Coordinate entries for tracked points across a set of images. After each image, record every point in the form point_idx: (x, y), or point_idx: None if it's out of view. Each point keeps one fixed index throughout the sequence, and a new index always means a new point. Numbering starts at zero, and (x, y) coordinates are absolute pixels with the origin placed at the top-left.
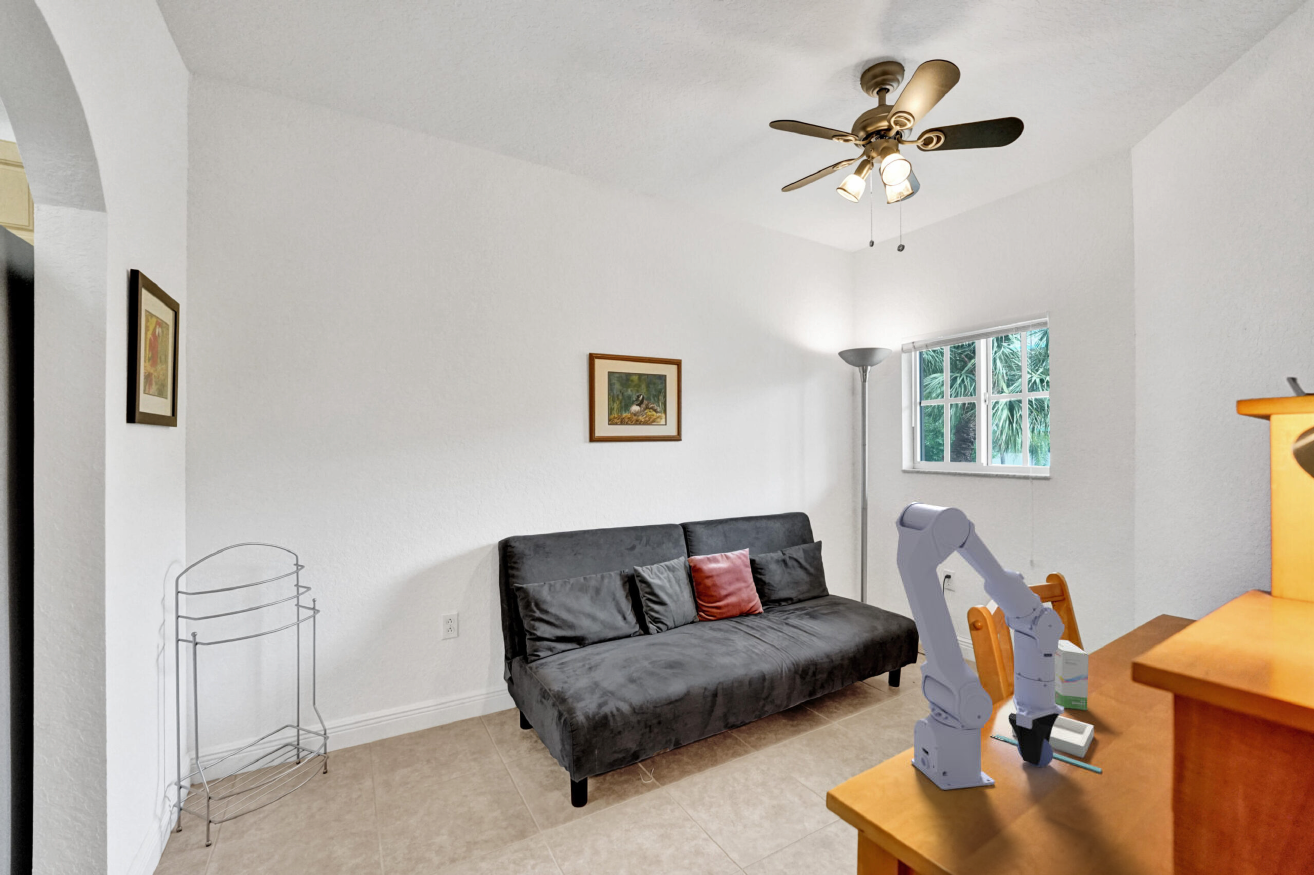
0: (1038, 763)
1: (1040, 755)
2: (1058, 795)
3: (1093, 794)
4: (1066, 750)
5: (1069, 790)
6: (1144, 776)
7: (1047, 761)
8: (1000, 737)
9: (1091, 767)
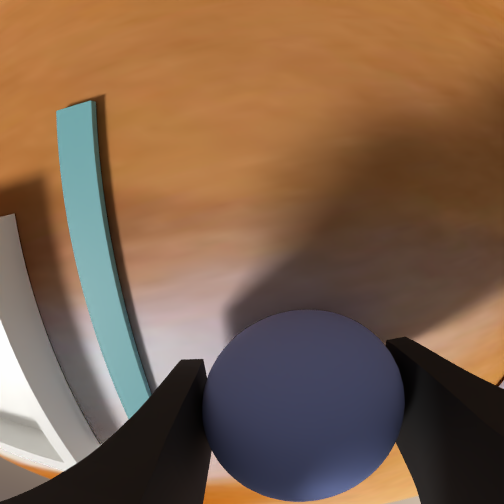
0: (411, 340)
1: (439, 360)
2: (489, 200)
3: (376, 73)
4: (23, 285)
5: (427, 170)
6: (3, 13)
7: (353, 321)
8: None
9: (81, 145)
